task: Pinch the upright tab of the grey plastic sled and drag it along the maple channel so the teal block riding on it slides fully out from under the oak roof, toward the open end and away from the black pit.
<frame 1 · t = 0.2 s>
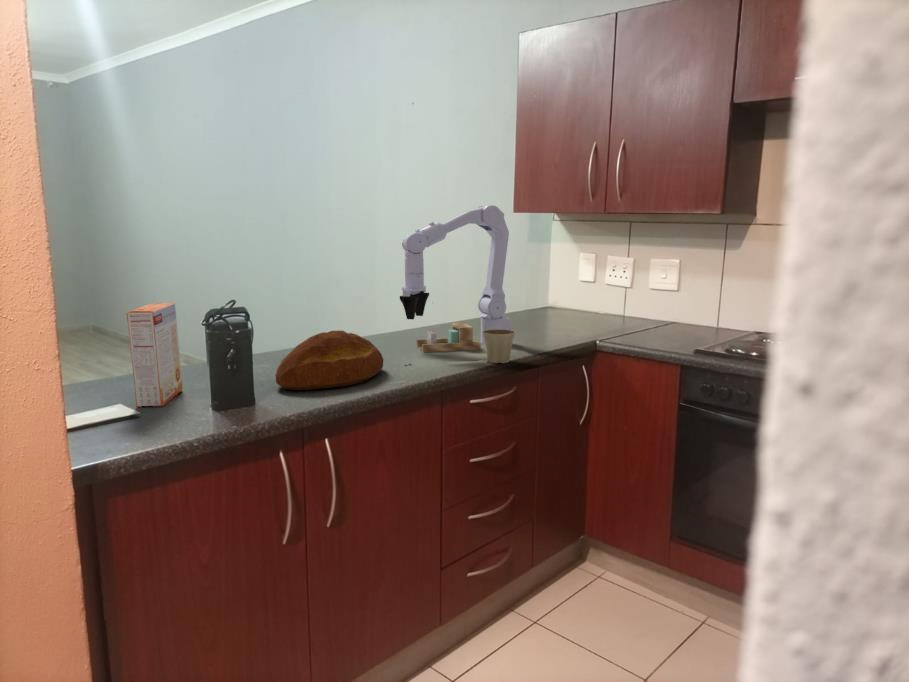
hand: (415, 317, 203), 10 cm above the countertop, tool pointing down, fingers open, 7 cm apart
bread: (333, 381, 165), on the countertop
flower pot: (498, 362, 187), on the countertop
cracker box: (159, 400, 147), on the countertop
board: (448, 350, 203), on the countertop
sled: (447, 339, 203), point 3 cm above the countertop, slide at 0.0 cm, touching block
block: (456, 345, 204), point 2 cm above the countertop, touching sled
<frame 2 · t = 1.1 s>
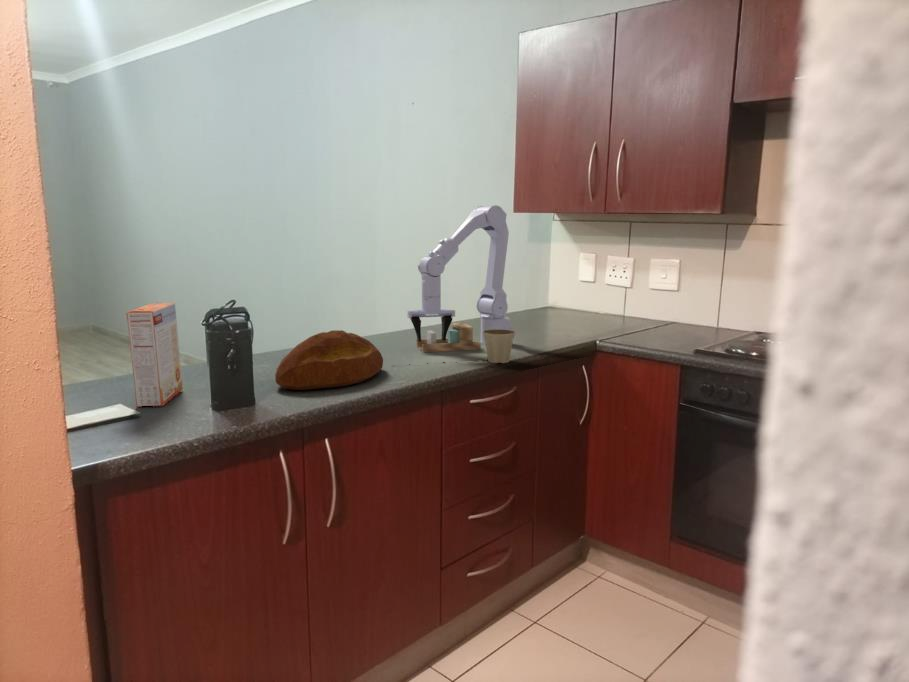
hand: (431, 340, 201), 3 cm above the countertop, tool pointing down, fingers open, 7 cm apart
nothing on the countertop moved.
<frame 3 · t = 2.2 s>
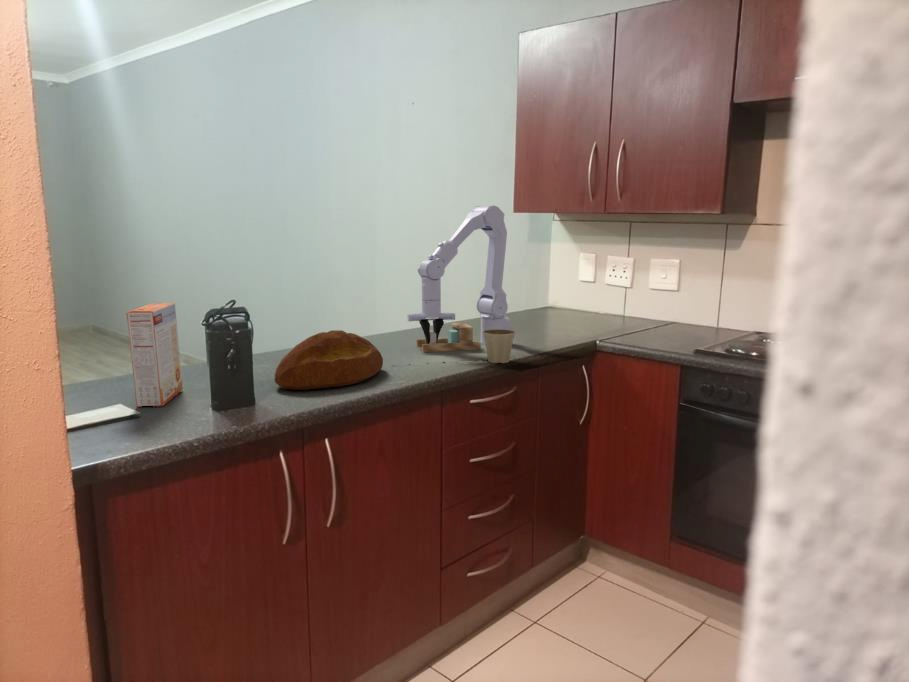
hand: (431, 343, 202), 2 cm above the countertop, tool pointing down, fingers closed on sled, 2 cm apart
sled: (447, 339, 203), point 3 cm above the countertop, slide at 0.0 cm, touching block, gripper
everything else where it was.
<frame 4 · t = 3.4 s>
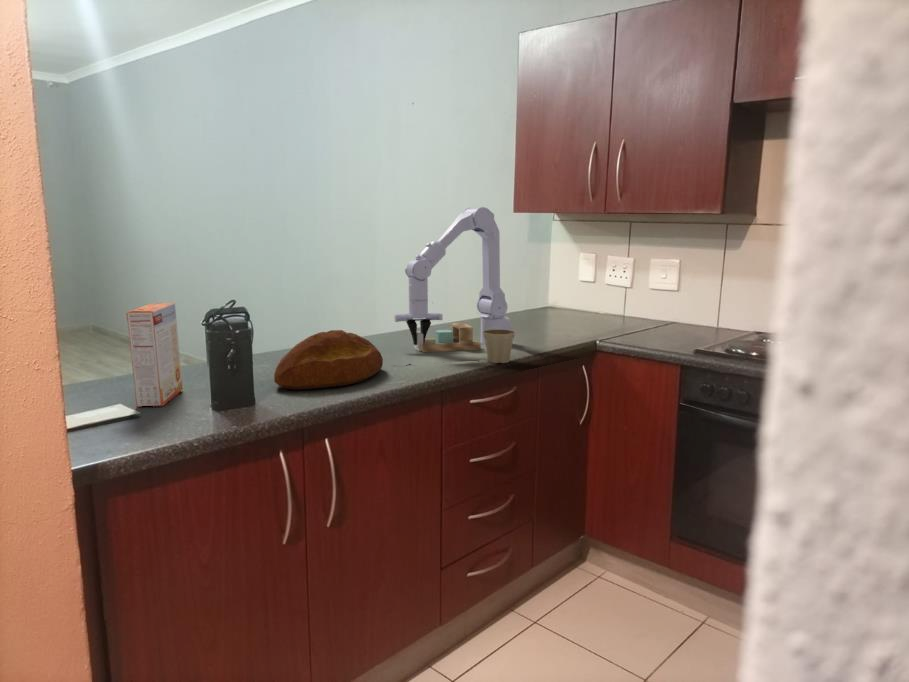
hand: (418, 344, 201), 2 cm above the countertop, tool pointing down, fingers closed on sled, 2 cm apart
sled: (435, 340, 202), point 3 cm above the countertop, slide at 4.0 cm, touching block, gripper
block: (444, 345, 203), point 2 cm above the countertop, touching sled
everything else where it was.
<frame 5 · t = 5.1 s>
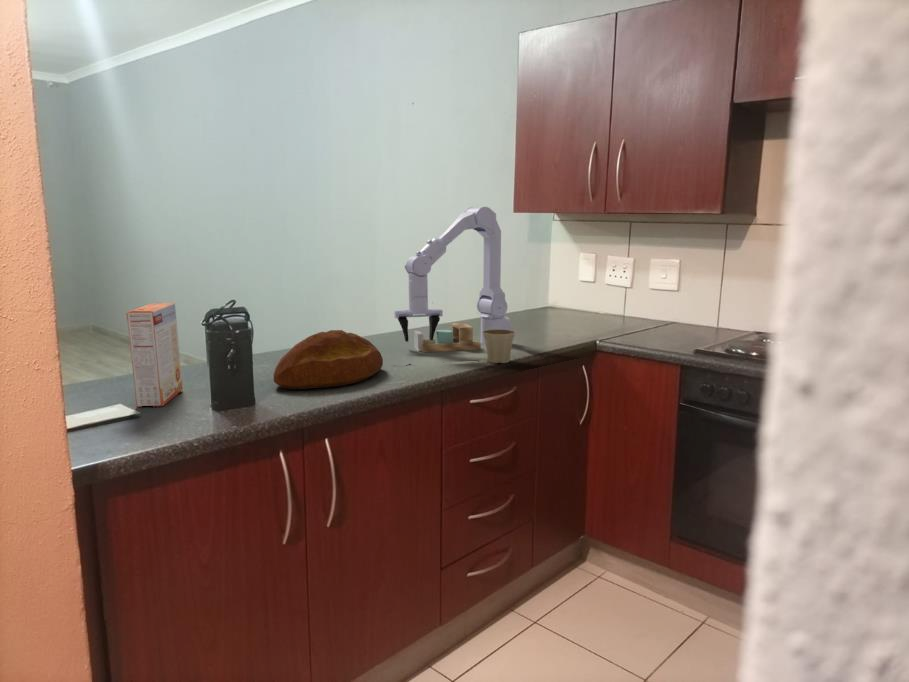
hand: (419, 340, 200), 3 cm above the countertop, tool pointing down, fingers open, 7 cm apart
sled: (435, 340, 202), point 3 cm above the countertop, slide at 4.0 cm, touching block
everything else where it was.
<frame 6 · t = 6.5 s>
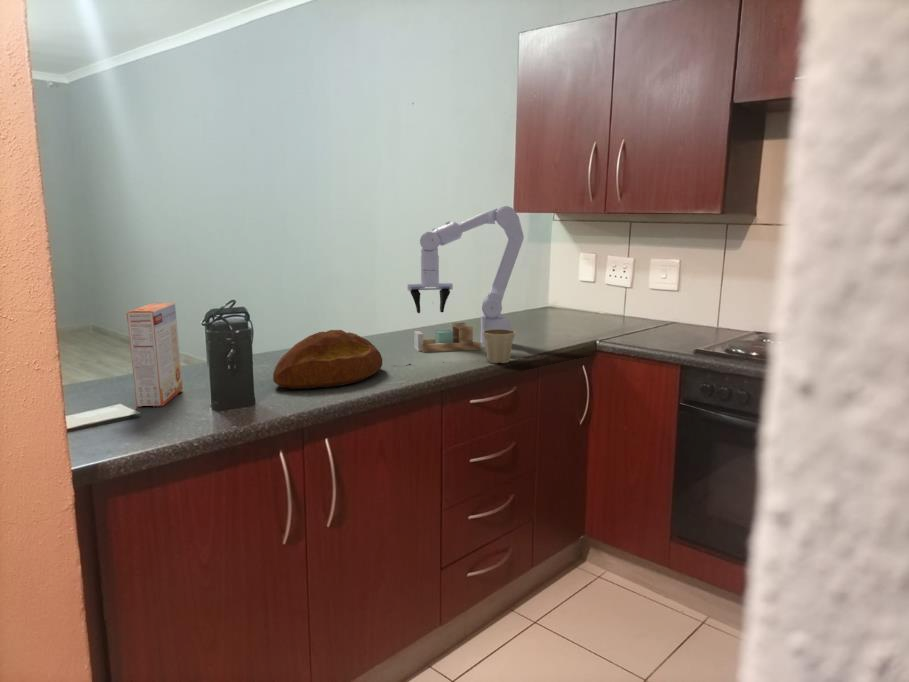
hand: (430, 312, 212), 10 cm above the countertop, tool pointing down, fingers open, 7 cm apart
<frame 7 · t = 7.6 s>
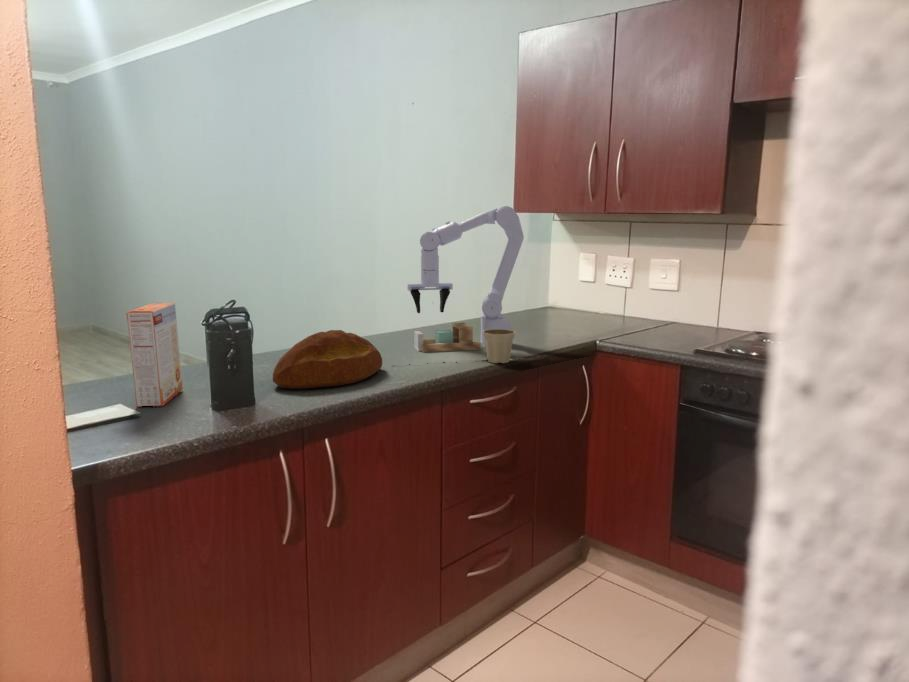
hand: (430, 312, 212), 10 cm above the countertop, tool pointing down, fingers open, 7 cm apart
at the end: sled slide at 4.0 cm; block 0.7 cm from the target spot on the board, point 1.5 cm above the board's base; block tilted 0° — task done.
